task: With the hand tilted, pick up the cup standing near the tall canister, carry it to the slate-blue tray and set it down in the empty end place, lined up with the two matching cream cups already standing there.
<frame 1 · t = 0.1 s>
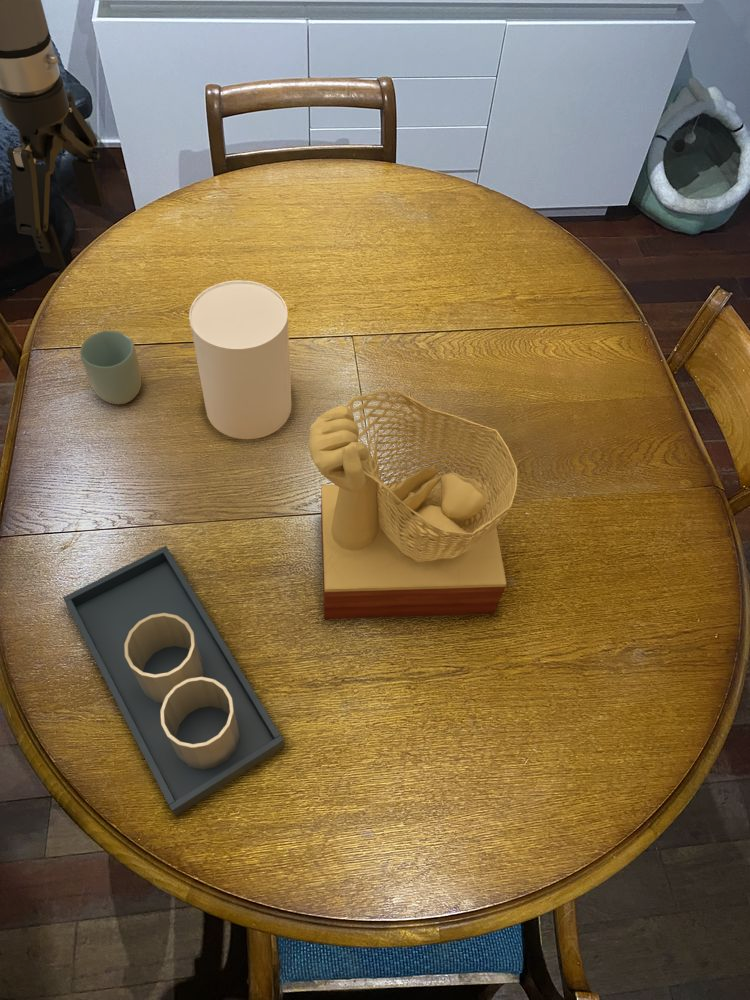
hand: (75, 234, 108), 25 cm above the table, tool pointing down, fingers open, 13 cm apart
canister: (249, 407, 126), on the table
cup a: (172, 675, 100), resting on tray
cup b: (207, 737, 96), resting on tray
tray: (172, 675, 100), on the table
basket: (397, 563, 112), on the table
cup: (121, 393, 126), on the table
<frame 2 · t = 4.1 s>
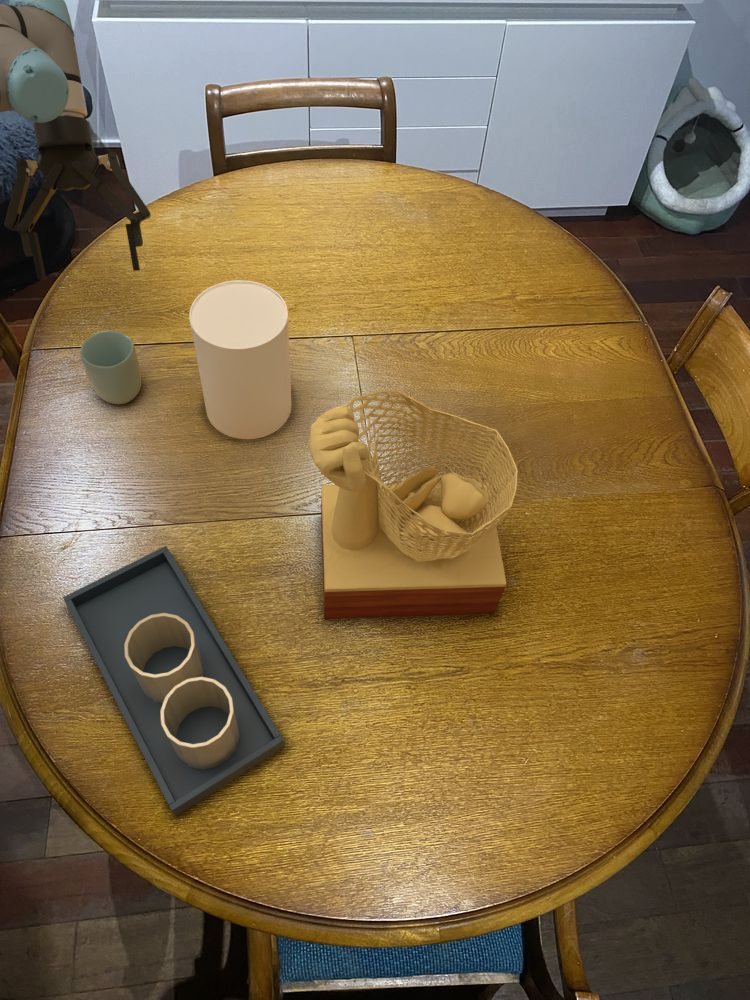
hand: (89, 275, 117), 16 cm above the table, tool tilted 40°, fingers open, 13 cm apart
nothing on the table moved.
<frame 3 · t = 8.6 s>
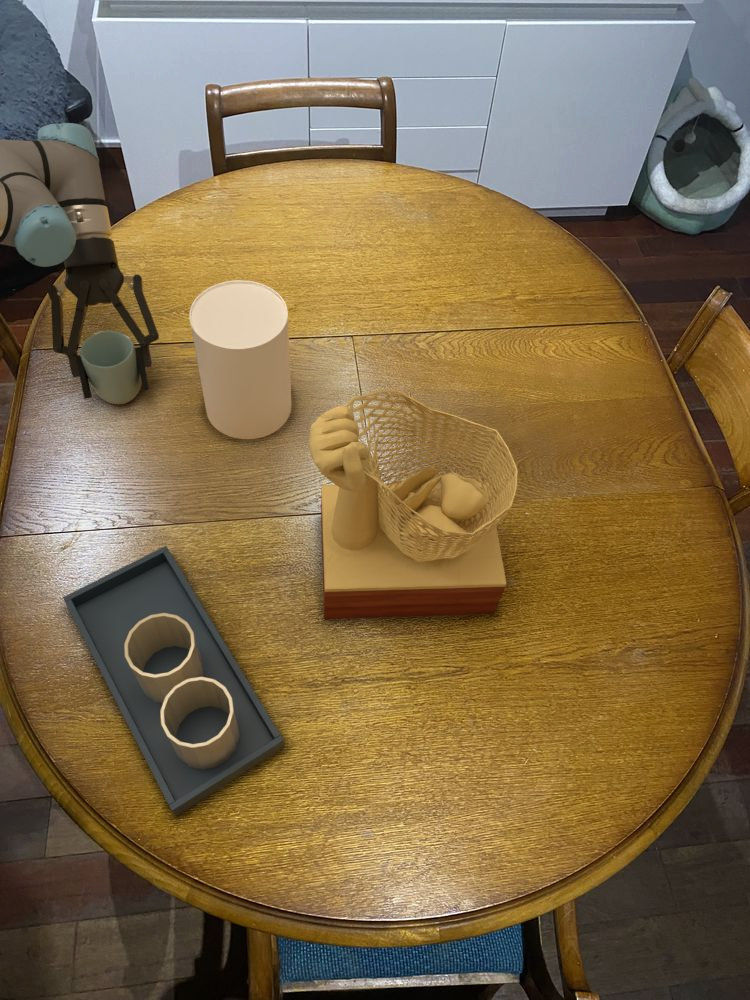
hand: (117, 393, 121), 4 cm above the table, tool tilted 45°, fingers closed on cup, 8 cm apart
cup: (121, 393, 126), on the table, touching gripper
everything else where it was.
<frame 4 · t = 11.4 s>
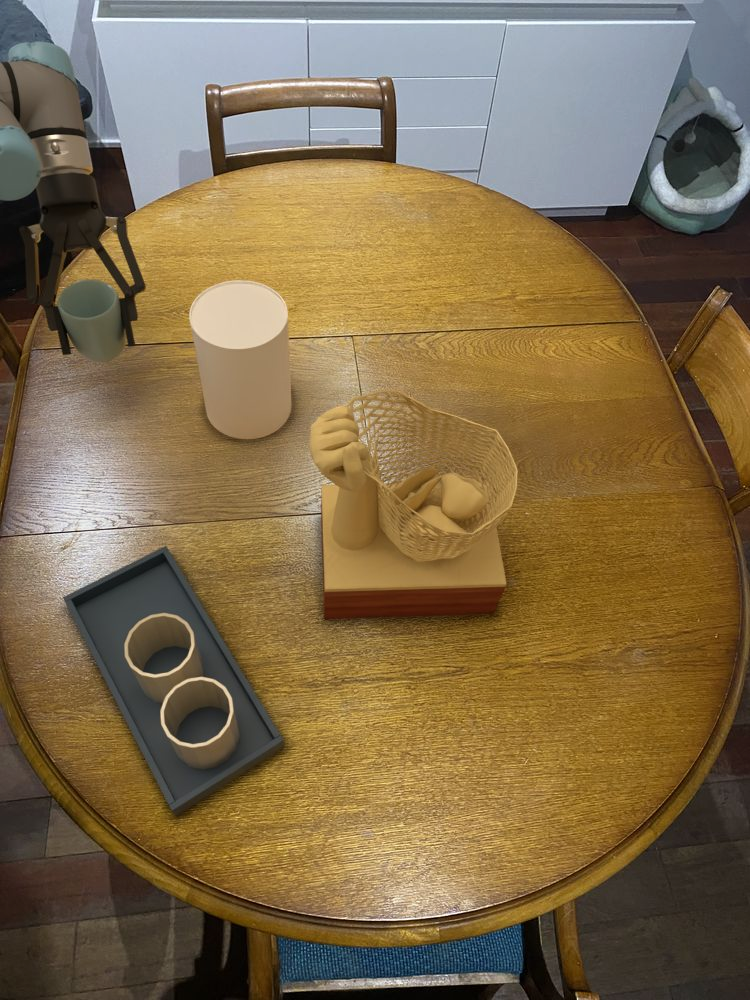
hand: (99, 350, 109), 16 cm above the table, tool tilted 45°, fingers closed on cup, 8 cm apart
cup: (104, 352, 114), point 12 cm above the table, touching gripper
everything else where it was.
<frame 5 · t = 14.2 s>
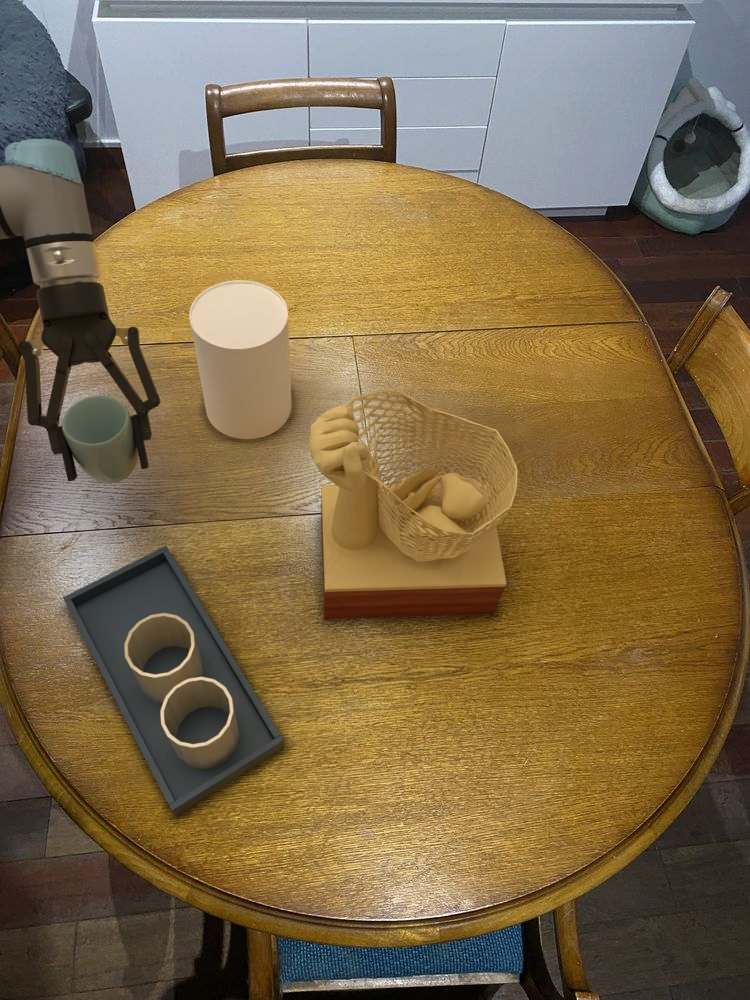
hand: (109, 472, 97), 17 cm above the table, tool tilted 45°, fingers closed on cup, 8 cm apart
cup: (113, 468, 102), point 13 cm above the table, touching gripper
everything else where it was.
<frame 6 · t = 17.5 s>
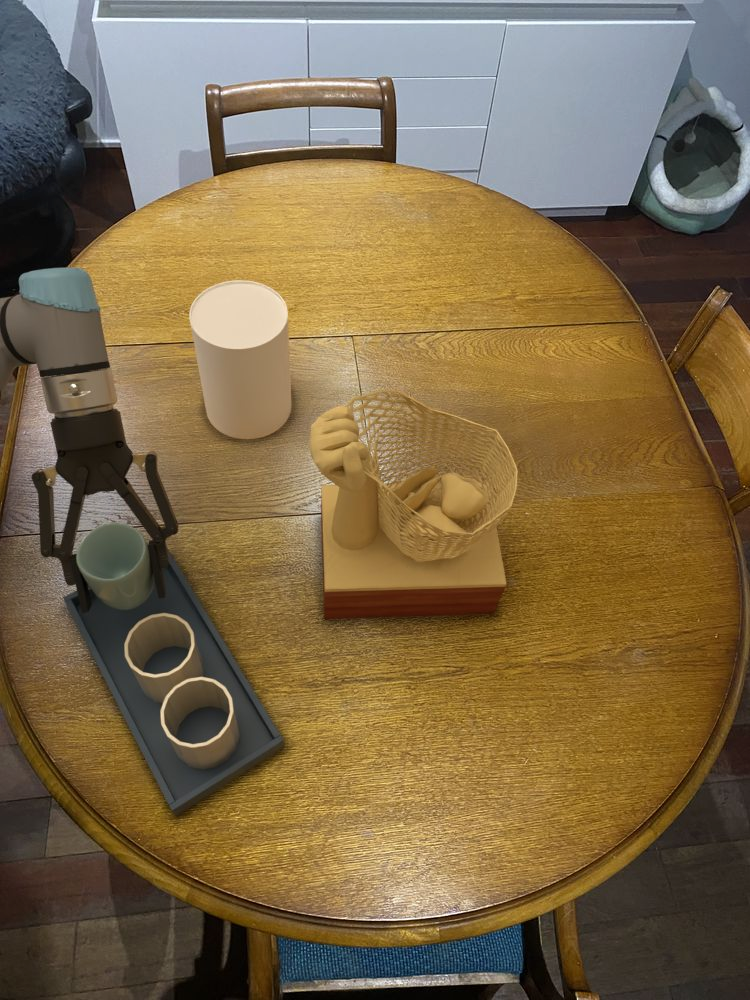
hand: (124, 601, 93), 12 cm above the table, tool tilted 45°, fingers closed on cup, 8 cm apart
cup: (129, 591, 98), point 8 cm above the table, touching gripper
everything else where it was.
when the fingers open (4 cm above the table, at t = 19.9 s): cup stays where it is, resting on tray.
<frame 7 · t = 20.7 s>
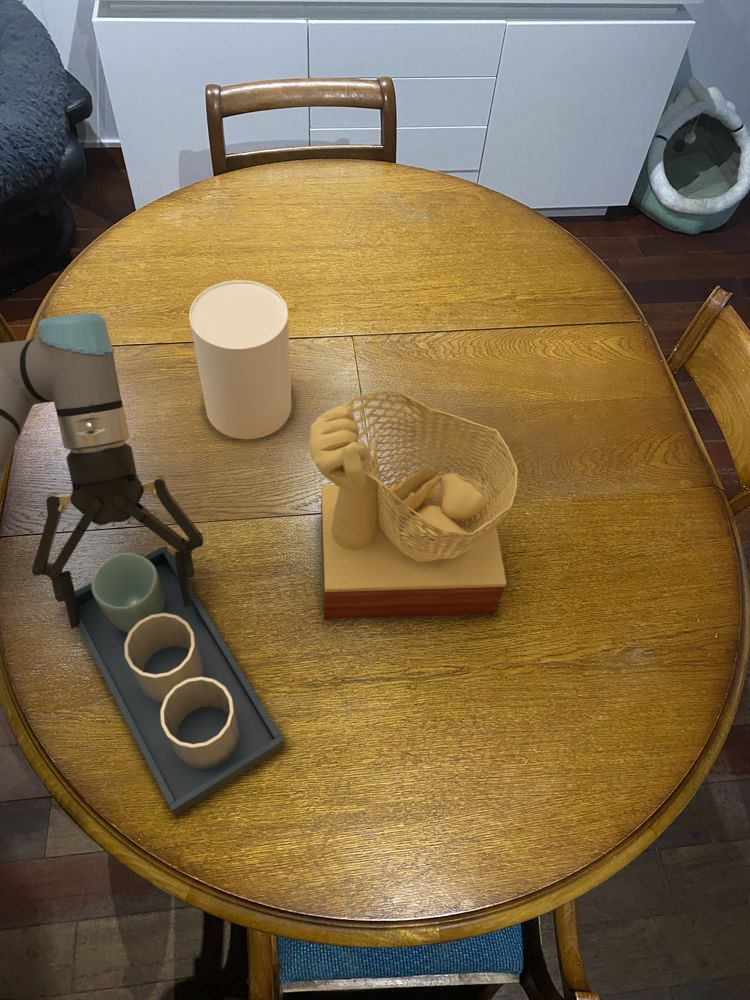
hand: (132, 613, 98), 6 cm above the table, tool tilted 45°, fingers open, 13 cm apart
cup: (139, 615, 104), point 1 cm above the table, touching tray
everything else where it was.
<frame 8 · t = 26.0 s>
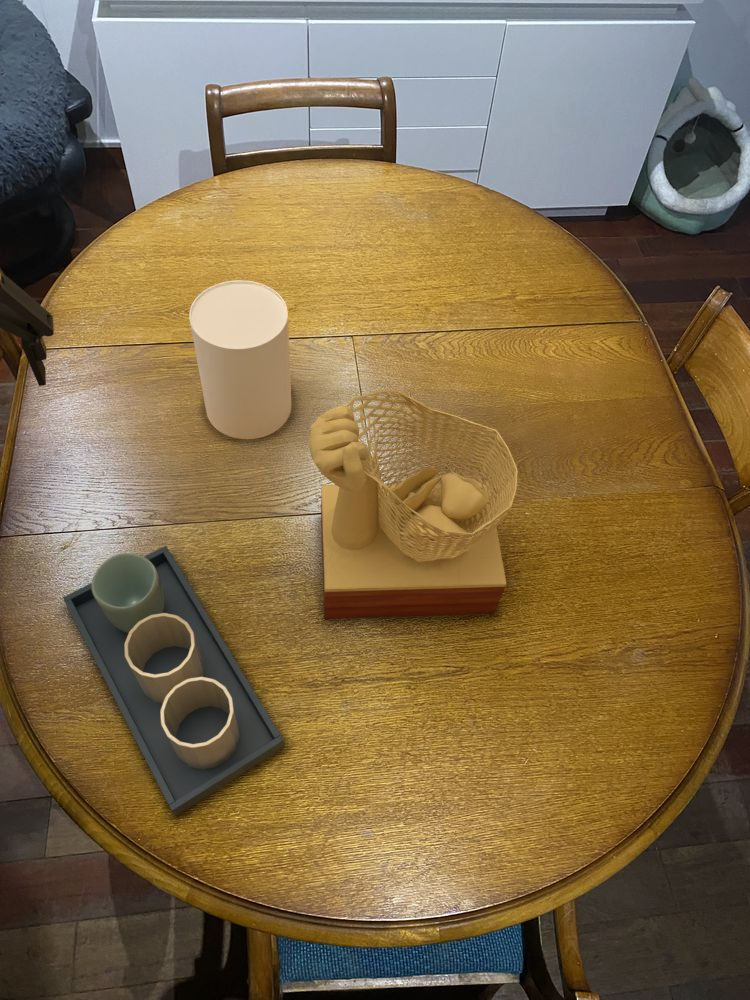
nothing on the table moved.
at the end: cup 0.0 cm from the target spot in the tray, point 0.6 cm above the tray's base; cup tilted 0°; the gripper is holding nothing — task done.
